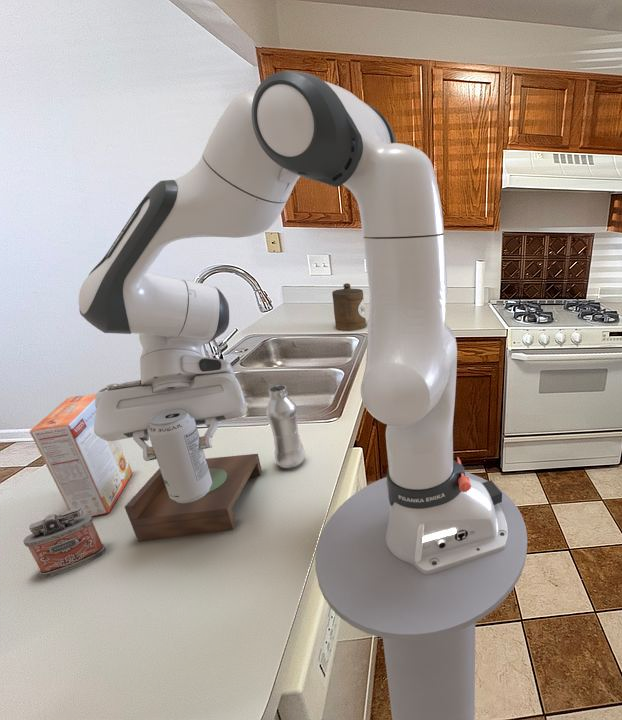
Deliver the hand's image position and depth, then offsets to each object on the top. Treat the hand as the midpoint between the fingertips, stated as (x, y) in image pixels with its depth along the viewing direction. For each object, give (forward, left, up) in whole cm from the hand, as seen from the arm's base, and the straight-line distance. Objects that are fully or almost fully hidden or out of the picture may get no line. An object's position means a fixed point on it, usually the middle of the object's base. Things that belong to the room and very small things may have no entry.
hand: (179, 453), depth 64 cm
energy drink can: (0, -1, -9) cm, 9 cm away
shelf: (+6, -14, -21) cm, 25 cm away
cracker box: (+28, -20, -21) cm, 40 cm away
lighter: (+22, -2, -21) cm, 30 cm away
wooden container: (-10, -142, -21) cm, 143 cm away
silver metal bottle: (-8, -25, -21) cm, 33 cm away
